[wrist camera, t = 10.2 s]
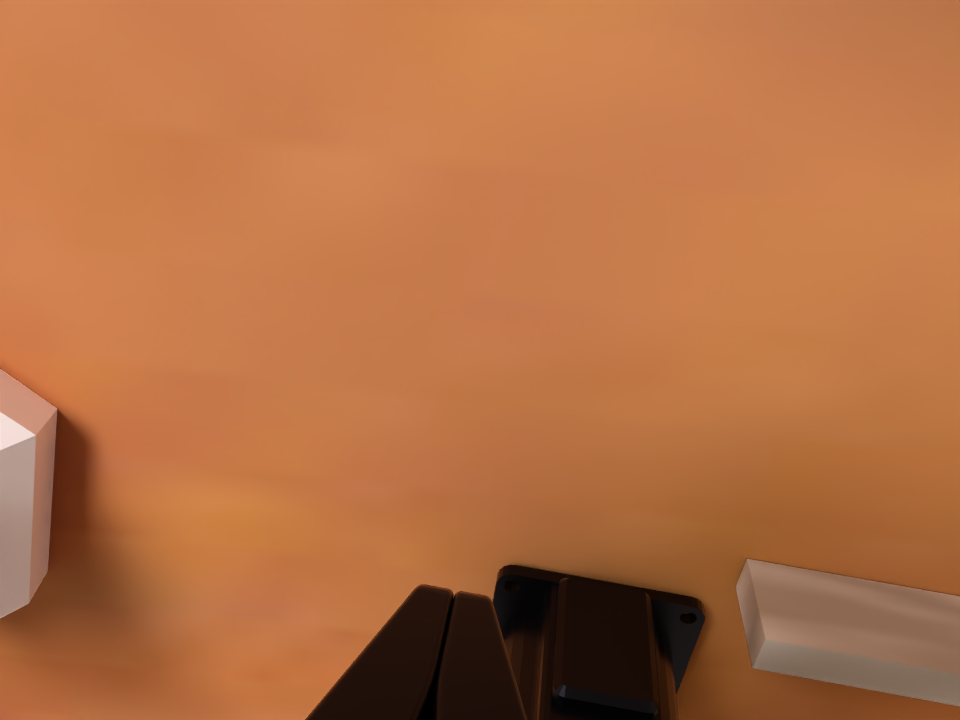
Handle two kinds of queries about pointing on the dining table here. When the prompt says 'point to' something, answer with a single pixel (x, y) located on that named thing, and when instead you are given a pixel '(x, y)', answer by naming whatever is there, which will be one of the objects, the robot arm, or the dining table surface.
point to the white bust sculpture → (24, 491)
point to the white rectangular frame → (851, 631)
